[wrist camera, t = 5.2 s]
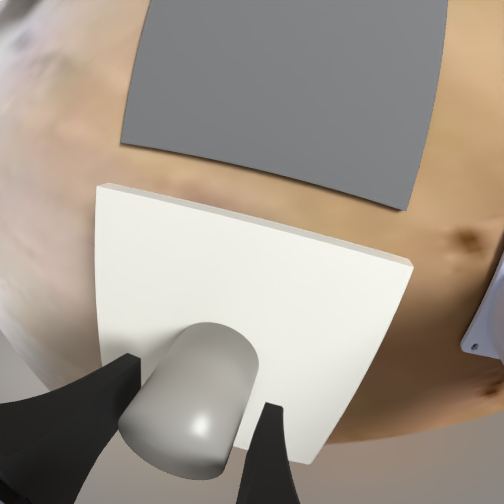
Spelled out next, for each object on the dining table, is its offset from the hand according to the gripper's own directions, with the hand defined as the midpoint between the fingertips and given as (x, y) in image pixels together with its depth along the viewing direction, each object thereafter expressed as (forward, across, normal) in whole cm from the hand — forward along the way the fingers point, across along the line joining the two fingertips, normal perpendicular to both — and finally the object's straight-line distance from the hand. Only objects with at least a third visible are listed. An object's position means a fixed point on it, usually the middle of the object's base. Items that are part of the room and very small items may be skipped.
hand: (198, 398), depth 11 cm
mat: (+7, +1, -15) cm, 17 cm away
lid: (+3, 0, 0) cm, 3 cm away
